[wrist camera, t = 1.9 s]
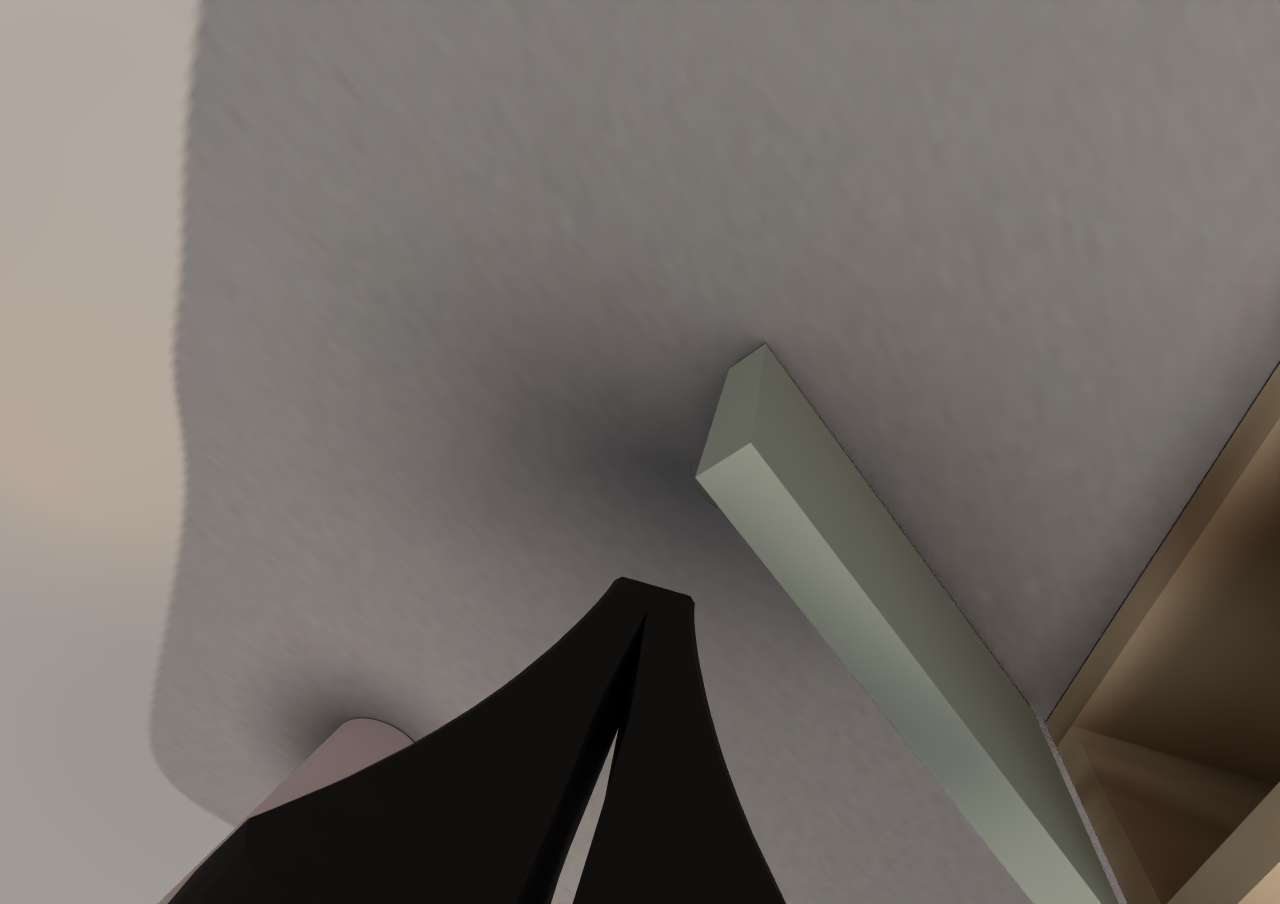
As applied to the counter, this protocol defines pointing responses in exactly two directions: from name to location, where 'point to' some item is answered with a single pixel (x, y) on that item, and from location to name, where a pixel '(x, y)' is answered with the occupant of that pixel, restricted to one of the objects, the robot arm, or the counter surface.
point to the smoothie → (328, 767)
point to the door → (894, 627)
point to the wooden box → (1192, 695)
